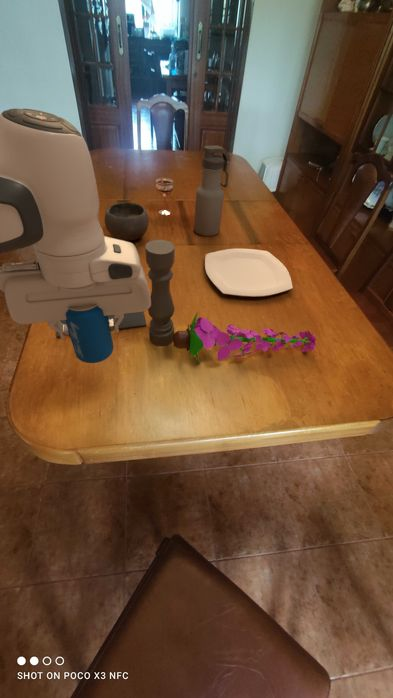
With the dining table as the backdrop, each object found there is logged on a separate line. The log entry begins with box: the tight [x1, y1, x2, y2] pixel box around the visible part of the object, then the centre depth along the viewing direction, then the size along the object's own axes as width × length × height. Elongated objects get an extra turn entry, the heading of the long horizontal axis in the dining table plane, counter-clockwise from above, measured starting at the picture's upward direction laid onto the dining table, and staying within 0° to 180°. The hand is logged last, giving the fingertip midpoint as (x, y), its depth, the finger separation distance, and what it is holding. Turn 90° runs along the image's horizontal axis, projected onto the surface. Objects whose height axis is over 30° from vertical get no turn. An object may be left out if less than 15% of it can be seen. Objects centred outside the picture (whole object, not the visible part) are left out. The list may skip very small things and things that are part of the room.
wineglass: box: [155, 177, 174, 216], centre depth 126 cm, size 7×7×12 cm
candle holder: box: [144, 239, 176, 348], centre depth 71 cm, size 6×6×25 cm
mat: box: [55, 311, 148, 339], centre depth 85 cm, size 22×16×1 cm
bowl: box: [104, 201, 150, 241], centre depth 110 cm, size 15×15×10 cm
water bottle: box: [193, 145, 231, 237], centre depth 111 cm, size 10×10×28 cm
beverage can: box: [65, 304, 114, 364], centre depth 52 cm, size 6×6×12 cm
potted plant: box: [172, 311, 317, 363], centre depth 76 cm, size 12×16×35 cm
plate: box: [204, 248, 294, 298], centre depth 101 cm, size 27×27×2 cm
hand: (91, 333), depth 53 cm, fingers closed on beverage can, 6 cm apart
